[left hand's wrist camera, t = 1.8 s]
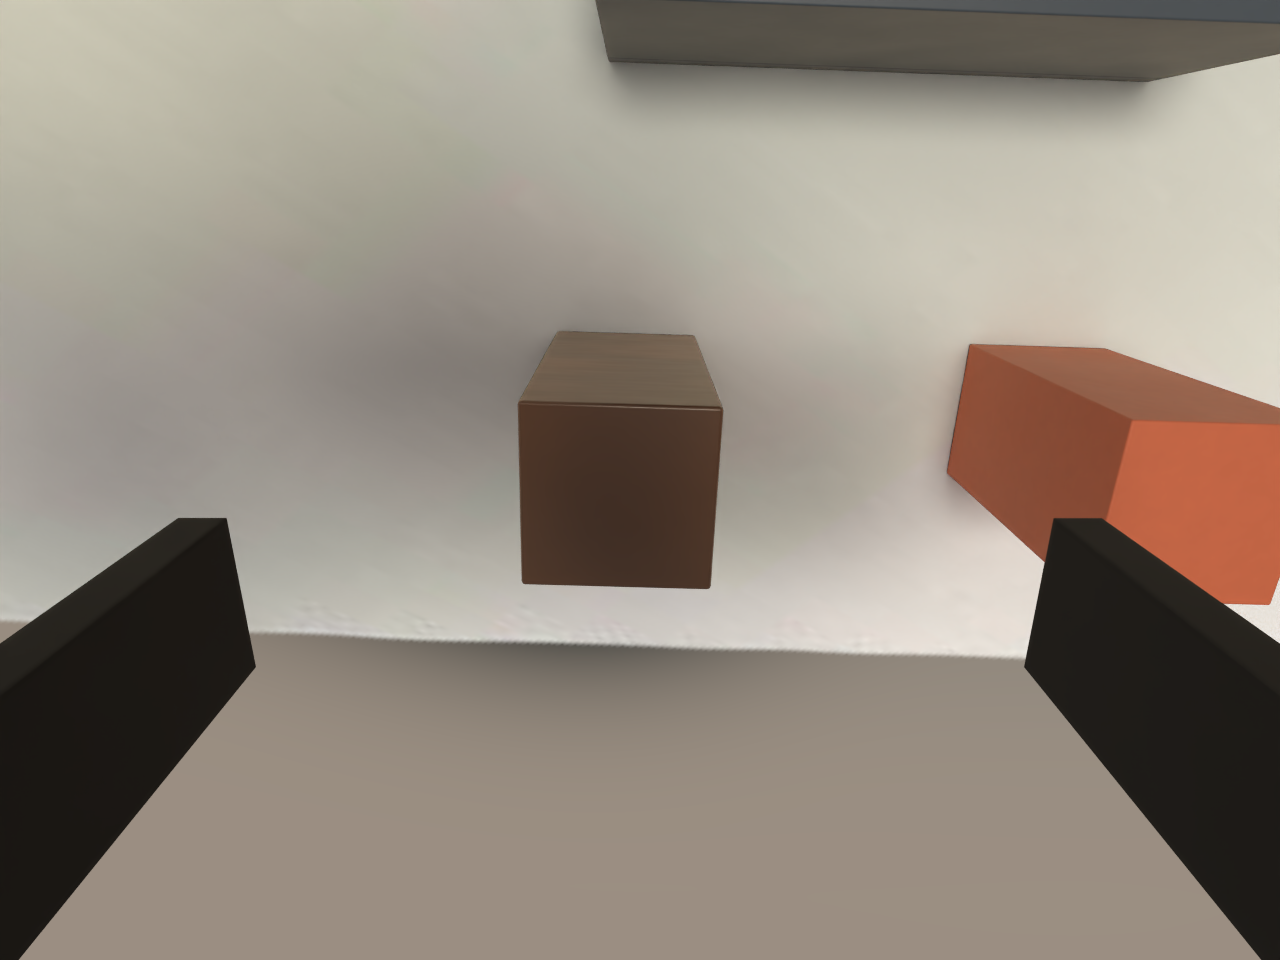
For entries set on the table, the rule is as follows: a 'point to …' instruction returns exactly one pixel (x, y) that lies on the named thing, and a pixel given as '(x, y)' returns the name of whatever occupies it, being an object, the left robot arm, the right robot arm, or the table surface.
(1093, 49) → the tote
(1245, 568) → the terracotta block
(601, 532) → the walnut block
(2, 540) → the table surface
